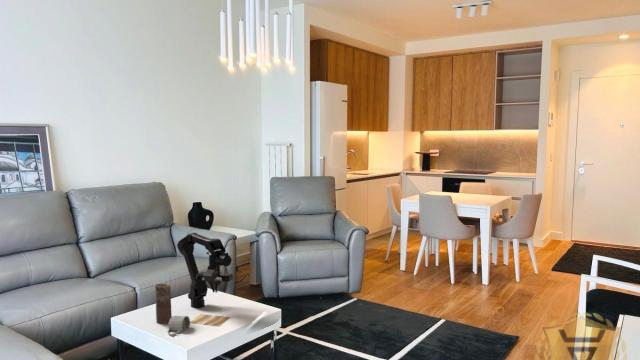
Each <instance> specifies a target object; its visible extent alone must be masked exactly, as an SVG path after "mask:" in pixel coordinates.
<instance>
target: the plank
mask: <svg viewBox="0 0 640 360" xmlns="http://www.w3.org/2000/svg"><path fill="white" fill-rule="evenodd" d="M212 317H214V315H212V314H206V313H200V314H199V315H197V316H196V317H194V318H193V319H190V324H198V325H203V324H204V323H205V322H207V321H208V320H210V319H211V318H212Z"/></svg>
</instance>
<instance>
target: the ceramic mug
mask: <svg viewBox="0 0 640 360" xmlns="http://www.w3.org/2000/svg"><path fill="white" fill-rule="evenodd" d="M190 321H191V319H190V317H189V316H187V315H174V316H173V315H172V317H171V318H170V320H169V323H167V324H168V325H167V326H168V327H167V328H168V330H167V334H168V336H169V337H173V338H174V337H177V335H179V334H180V333H184V330H185V329H186V328H187V329H190V327H191V326H190V325H191V323H190ZM171 331H173V332H174V333H170V332H171Z"/></svg>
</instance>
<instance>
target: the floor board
mask: <svg viewBox="0 0 640 360" xmlns="http://www.w3.org/2000/svg"><path fill="white" fill-rule="evenodd" d="M231 318H232V317H231V316H224V315H223V316H222V315H213V317H211V318H210V319H208V320H207V321H206V322H204V323H203V324H202V325H203V326H209V327H210V326H211V327H221V326H222V325H223V324H225V323H226V322H227V321H228V320H229V319H231Z"/></svg>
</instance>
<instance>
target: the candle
mask: <svg viewBox="0 0 640 360" xmlns="http://www.w3.org/2000/svg"><path fill="white" fill-rule="evenodd" d="M154 288H155V319H156V324H159V325H166V324H168V323H169V320H170V318H171V317H173V315H172V299H171V298H172V297H171V295H172V294H171V293H172V292H171V285H170V284H168V283H156V284H155V287H154Z"/></svg>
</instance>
